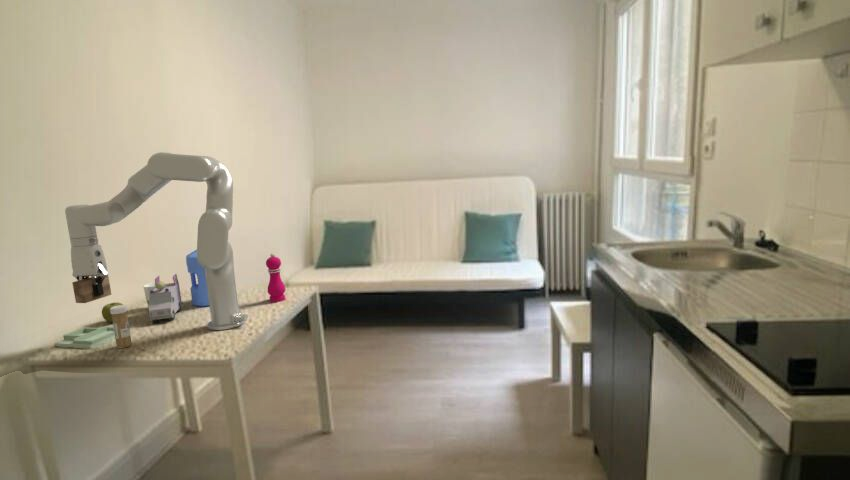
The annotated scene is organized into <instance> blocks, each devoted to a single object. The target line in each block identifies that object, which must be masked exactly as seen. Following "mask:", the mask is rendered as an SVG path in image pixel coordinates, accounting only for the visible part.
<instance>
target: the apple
mask: <svg viewBox="0 0 850 480" xmlns="http://www.w3.org/2000/svg"><path fill="white" fill-rule="evenodd" d="M119 305H124V304H123V303H121V302H110V303H107V304H105V305H104V306H103V307H102V309H101V315H102V318H103V320H104V321H105V322H107V323H111V324H113V320H112V315H111V313H110V308H111V307H114V306H119Z"/></svg>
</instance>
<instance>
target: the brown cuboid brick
mask: <svg viewBox="0 0 850 480" xmlns="http://www.w3.org/2000/svg"><path fill="white" fill-rule="evenodd" d="M97 278H98V276H97V277H96V279H97ZM109 278H110V277H109V275H108V276H107V277H106V278H105V279H104V280H103V283H102V286H103V292H104V294H103V295H100V296H97V297H95V296H94V291H93V286H92V285H94V283H93V280H92V277H91V276H89V278H86V279H83V280H79V281H78V280H75V281H73V282H72V288H73V295H74V300H75V303H76V304H87V303H90V302H93V301H96V300H99V299H103V298H105V297H108V296H112V290H111V285H110V279H109Z"/></svg>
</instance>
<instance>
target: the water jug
mask: <svg viewBox="0 0 850 480" xmlns="http://www.w3.org/2000/svg"><path fill="white" fill-rule="evenodd" d="M185 263H186V267H187V273H189V275H190V283H191V287H190V289H189V290H190V295H191V303H192V305H193V306H195V307H210V306H209V299H208V291H207V283H206V275H205V268H204V267H202V266H201V265H200V264H199V262H198V259H197V249H195V250H193V251H192V252H190V253H189V254H187V255H186V257H185ZM196 279H197V280H196Z"/></svg>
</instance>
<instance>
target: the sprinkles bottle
mask: <svg viewBox="0 0 850 480" xmlns="http://www.w3.org/2000/svg"><path fill="white" fill-rule="evenodd" d="M127 312H128V309H127V305H126V304H125V305H124V304H123V305H119V306H114V307H111V308H110V313H111V315H112V320H113V323H112V327H113V328H114V334H115V344H116V348H118V349H125V348H128V347H130V346H132V345H133V342H132V337H131V330H130V329H131V328H130V324H129V319H128V313H127Z"/></svg>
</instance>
